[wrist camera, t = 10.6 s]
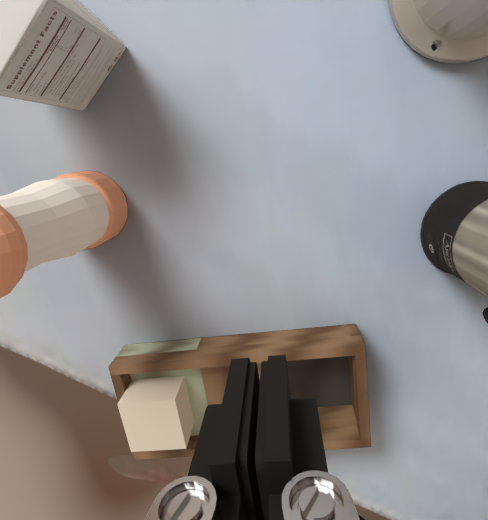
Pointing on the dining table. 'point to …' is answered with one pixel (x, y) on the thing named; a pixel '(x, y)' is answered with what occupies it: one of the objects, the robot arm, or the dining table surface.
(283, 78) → the dining table surface
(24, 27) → the supplement box
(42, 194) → the pepper shaker
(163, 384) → the cream block
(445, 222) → the milk frother
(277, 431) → the robot arm
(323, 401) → the box
